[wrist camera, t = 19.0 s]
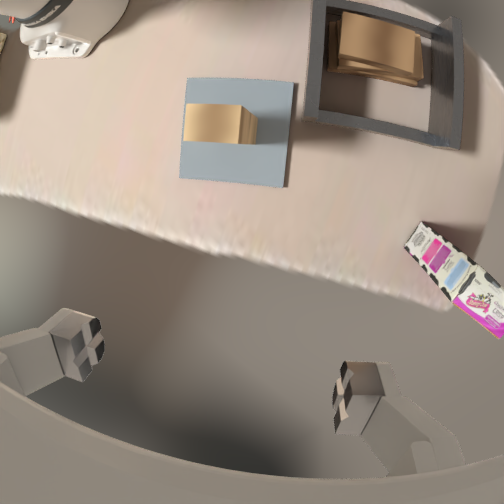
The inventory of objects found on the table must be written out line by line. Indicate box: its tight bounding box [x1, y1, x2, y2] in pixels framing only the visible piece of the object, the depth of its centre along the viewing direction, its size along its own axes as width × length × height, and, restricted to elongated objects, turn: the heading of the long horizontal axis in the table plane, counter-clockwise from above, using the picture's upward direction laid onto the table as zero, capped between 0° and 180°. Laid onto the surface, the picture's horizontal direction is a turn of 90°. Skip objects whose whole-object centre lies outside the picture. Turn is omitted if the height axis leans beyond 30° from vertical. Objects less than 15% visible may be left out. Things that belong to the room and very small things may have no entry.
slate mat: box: [179, 78, 294, 188], centre depth 38 cm, size 14×14×1 cm
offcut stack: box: [327, 11, 424, 87], centre depth 29 cm, size 12×7×6 cm, turn 87°
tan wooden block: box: [183, 104, 258, 145], centre depth 31 cm, size 5×4×13 cm
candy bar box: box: [404, 221, 504, 339], centre depth 32 cm, size 11×5×16 cm, turn 61°
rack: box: [302, 0, 464, 150], centre depth 29 cm, size 19×18×7 cm
